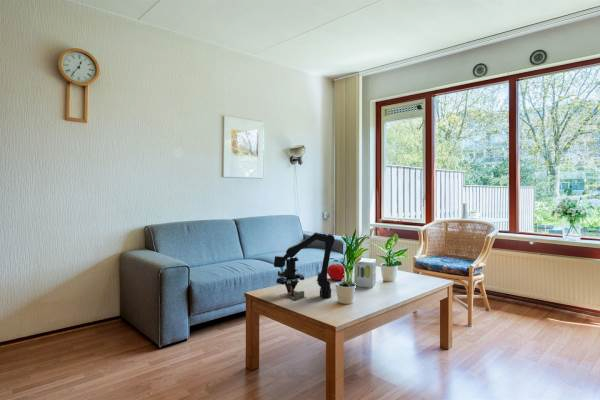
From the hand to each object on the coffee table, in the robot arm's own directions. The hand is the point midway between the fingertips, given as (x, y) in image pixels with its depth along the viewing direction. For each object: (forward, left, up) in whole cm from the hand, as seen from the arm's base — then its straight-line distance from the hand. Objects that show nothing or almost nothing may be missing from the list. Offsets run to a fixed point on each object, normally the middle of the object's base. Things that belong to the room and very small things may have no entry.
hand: (290, 292), depth 224 cm
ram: (-1, 0, -1) cm, 2 cm away
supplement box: (-15, -58, -3) cm, 60 cm away
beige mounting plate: (-2, 0, -2) cm, 3 cm away
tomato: (+7, -53, -3) cm, 54 cm away
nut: (-5, 0, -2) cm, 6 cm away
